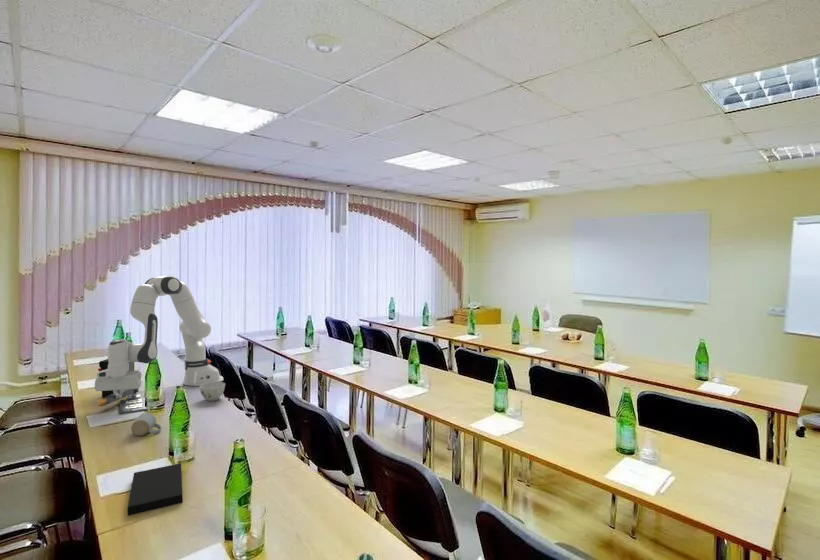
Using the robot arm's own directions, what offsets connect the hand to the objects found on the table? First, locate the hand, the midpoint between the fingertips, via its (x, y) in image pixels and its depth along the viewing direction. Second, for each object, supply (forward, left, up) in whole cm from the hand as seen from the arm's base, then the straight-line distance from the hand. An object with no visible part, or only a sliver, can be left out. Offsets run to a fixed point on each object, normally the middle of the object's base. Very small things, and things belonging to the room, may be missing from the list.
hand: (118, 398), depth 217 cm
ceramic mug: (-11, +46, -5) cm, 48 cm away
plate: (-6, +3, -4) cm, 8 cm away
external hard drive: (-13, +103, -5) cm, 104 cm away
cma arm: (0, -4, -1) cm, 5 cm away
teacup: (-42, +14, -5) cm, 45 cm away
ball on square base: (-6, -13, -4) cm, 15 cm away
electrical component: (+1, -27, -5) cm, 27 cm away
